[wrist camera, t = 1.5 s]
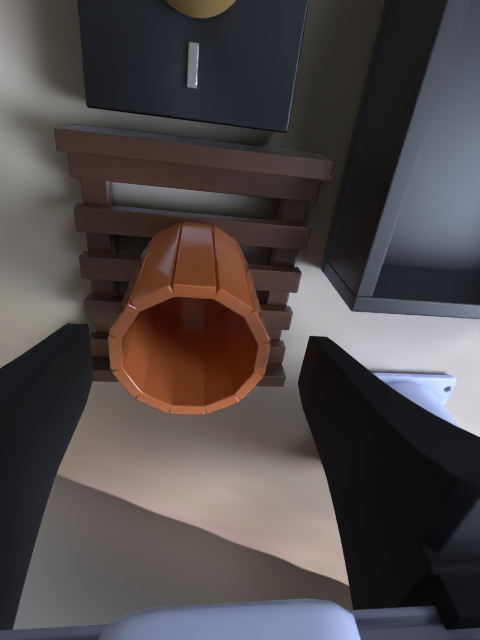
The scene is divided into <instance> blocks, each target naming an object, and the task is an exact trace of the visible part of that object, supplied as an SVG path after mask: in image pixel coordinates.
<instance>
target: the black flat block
mask: <svg viewBox="0 0 480 640" xmlns="http://www.w3.org/2000/svg"><path fill="white" fill-rule="evenodd" d="M77 3H78V15H79V27H80V39H81V51H82V63H83V75H84V87H85V99H86V106H87V107H89V108H96V109H103V110H111V111H119V112H127V113H135V114H143V115H151V116H158V117H166V118H174V119H182V120H190V121H198V122H206V123H213V124H221V125H229V126H237V127H245V128H253V129H260V130H268V131H276V132H284V133H286V132H287V131H288V127H289V121H290V114H291V108H292V102H293V96H294V90H295V84H296V77H297V71H298V65H299V59H300V53H301V46H302V40H303V34H304V28H305V22H306V16H307V9H308V3H309V0H236V1H235V2H234V3H233V4H232V5H231V6H230V7H229V8H228V9H227V10H225V11H224V12H222V13H221V14H218V15H216V16H213V17H209V18H193V17H189V16H186V15H184V14H182V13H180V12H178V11H177V10H175V9H174V8H173V7H171V6H170V5H169V4H168V3H167V2H166V1H165V0H77Z"/></svg>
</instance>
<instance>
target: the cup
mask: <svg viewBox="0 0 480 640" xmlns="http://www.w3.org/2000/svg"><path fill="white" fill-rule="evenodd" d="M108 347H109V359H110V369H113V370H112V373H113V374H114V376H115V377H116V378H117V379H118V381H119V382H120V383H121V384H122V385H123V387H124V388H125V389H126V390H127V392H128V393H129V394H130V395H131V396H132V397H135V396H136V397H135V399H136V400H137V401H140V402H142V403H144V404H147V405H149V406H151V407H153V408H156V409H158V410H160V411H163V412H165V413H167V412H168V411H169V410H170V414H203V415H204V414H205V410H206V412H207V413H208V414H209V413H212V412H214V411H217V410H219V409H222V408H225V407H227V406H230V405H232V404H235V403H238V402H239V399H241V400H242V399H243V398H244V397H245V396H246V395H247V394H248V393H249V392H250V391H251V390H252V389H253V388H254V387H255V386H256V384H257V383H258V382H259V381H260V380H261V379H262V378H263V375H264V374H265V371H266V366H267V360H268V355H269V350H270V339H269V336H268V332H267V329H266V325H265V322H264V318H263V315H262V311H261V308H260V304H259V301H258V297H257V294H256V290H255V287H254V283H253V280H252V276H251V273H250V269H249V266H248V263H247V261H246V259H245V257H244V255H243V252H242V250H241V248H240V246H239V244H238V243H237V242H236V240H235V239H233V238H232V237H230V236H229V235H227V234H226V233H224V232H223V231H222V230H220V229H219V228H217V227H216V226H213V227H212V225H211V224H202V223H191V222H183V224H181V223H178V224H175V225H173V226H171V227H169V228H167V229H165V230H163V231H161V232H158V233H156V234H155V236H153V237H152V239H151V240H150V242H149V243H148V245H147V246H146V248H145V250H144V251H143V253H142V254H141V256H140V258H139V260H138V263H137V265H136V268H135V270H134V273H133V275H132V277H131V280H130V282H129V285H128V287H127V290H126V292H125V295H124V297H123V300H122V302H121V304H120V307H119V309H118V312H117V314H116V317H115V319H114V322H113V324H112V327H111V329H110V332H109V336H108Z"/></svg>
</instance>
